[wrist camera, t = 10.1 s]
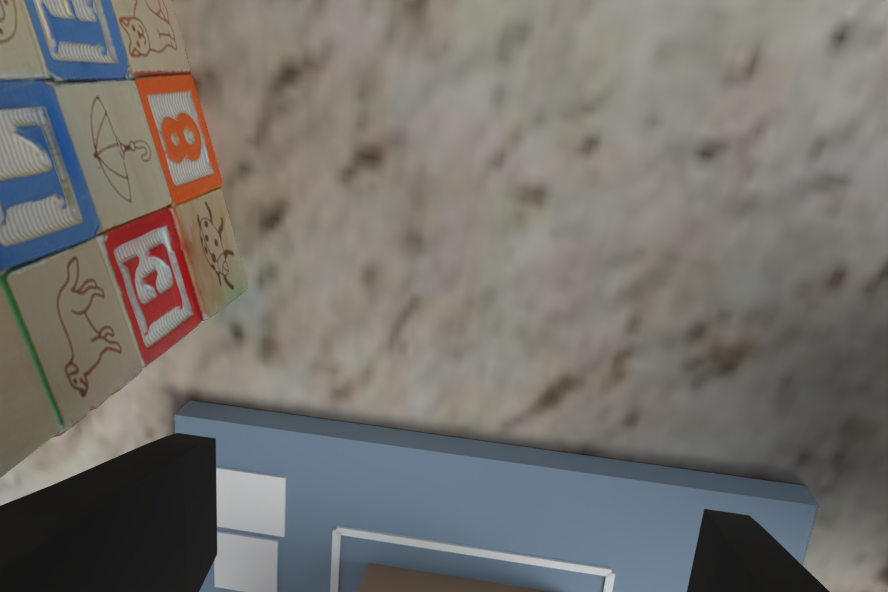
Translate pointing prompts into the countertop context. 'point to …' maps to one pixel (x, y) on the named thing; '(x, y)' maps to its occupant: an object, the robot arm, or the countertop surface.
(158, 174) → the stack of blocks
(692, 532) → the blueprint board
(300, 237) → the countertop surface
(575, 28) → the countertop surface
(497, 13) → the countertop surface
